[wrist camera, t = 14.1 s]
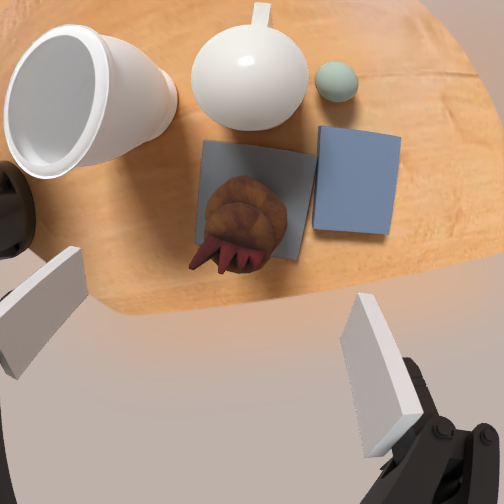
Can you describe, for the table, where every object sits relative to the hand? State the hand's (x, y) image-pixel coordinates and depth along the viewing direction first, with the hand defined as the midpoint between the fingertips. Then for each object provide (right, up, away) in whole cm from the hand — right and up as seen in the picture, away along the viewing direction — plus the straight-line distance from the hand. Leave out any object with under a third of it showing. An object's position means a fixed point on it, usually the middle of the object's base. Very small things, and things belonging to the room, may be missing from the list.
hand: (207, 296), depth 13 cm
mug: (+3, +19, +12) cm, 22 cm away
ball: (+10, +18, +11) cm, 23 cm away
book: (+12, +10, +15) cm, 22 cm away
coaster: (+2, +7, +17) cm, 19 cm away
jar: (-10, +18, +14) cm, 24 cm away
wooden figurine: (+2, +7, +16) cm, 18 cm away
